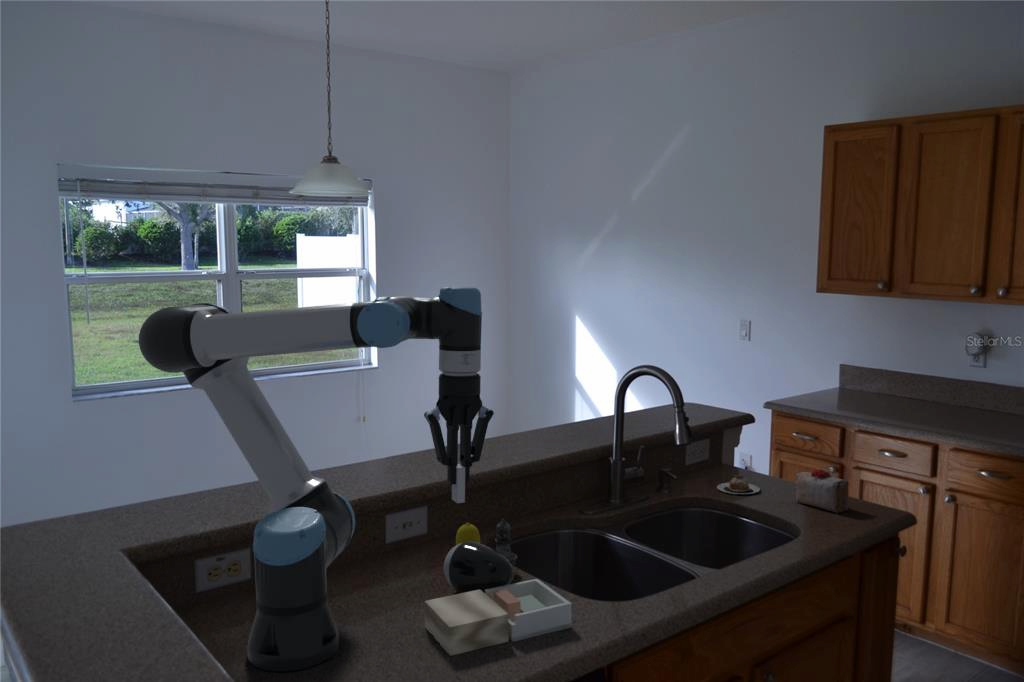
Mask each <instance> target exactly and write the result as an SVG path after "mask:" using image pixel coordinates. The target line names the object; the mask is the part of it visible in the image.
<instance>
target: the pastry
mask: <svg viewBox="0 0 1024 682" xmlns="http://www.w3.org/2000/svg"><path fill="white" fill-rule="evenodd" d="M744 477H745V476H744V475H742V474H741V475H740V474H737V475H736V474H735V475H734V477H733V478H732V479H731V480H730V481H729V482H725V483H720V484H718V485H717V486H716V488H717V490H719V491H721V492H722V493H724V494H727V493H728V495H734V496H737V495H739V494H740V495H741V496H743V495H745V494H746V495H752V494H755V493H759V492H760V490H761V488H760V487H759V486H757V485H754V484H752V483H749V481H748V480H747V479H746V478H744ZM725 487H726V488H728V489H729V490H730V491H727V490H725V489H724V488H725ZM751 489H752V490H753V492H752V491H751ZM731 491H732V492H731ZM746 491H747V492H746ZM750 491H751V492H750ZM740 495H739V496H740ZM746 495H745V496H746Z"/></svg>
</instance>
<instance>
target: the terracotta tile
mask: <svg viewBox="0 0 1024 682" xmlns="http://www.w3.org/2000/svg"><path fill="white" fill-rule="evenodd" d="M494 602H495V603H496V604H497V605H499V606H500V607H501V608H502V609H503V610H504V611H506V612H507V613H508V618H510V619H511V620H512V621H513V622H514V614H518V613H521V603H520V600H518V599H517V598H516V597H515V596H513V595H512V594H511V593H510V592H508V591H507V590H506V589H505V590H500V591H496V592H494Z"/></svg>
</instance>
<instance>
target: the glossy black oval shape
mask: <svg viewBox="0 0 1024 682" xmlns="http://www.w3.org/2000/svg"><path fill="white" fill-rule="evenodd" d="M513 567H514V566H513ZM513 567H512V565H511V563H510V562H509V561H508V560H507V559H506V558H505V557H504V556H503V555H501V554H500V553H498V552H497V551H496V549H493V548H491V547H489V546H487V545H484V544H482V543H481V542H480V543H477V542H473V541H467V542H464V543H461V544H458V545H456V544H455V546H453V547H451V549H450V550H449V551H448V553H447V555H445V560H444V562H443V573H444V577H445V579H446V581H447V583H448V585H450V587H452V588H453V589H454V590H455V591H456V592H458V593H459V594H460V593H465V592H470V591H474V590H479V589H480V590H481V591H482V592H484V593H485V590H486V589H491V588H495V587H500V586H505V585H509V584H512V581H513V579H514V576H515V575H514V570H515V569H514V568H513ZM513 569H514V570H513Z"/></svg>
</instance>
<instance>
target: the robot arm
mask: <svg viewBox="0 0 1024 682" xmlns="http://www.w3.org/2000/svg"><path fill="white" fill-rule="evenodd" d="M482 317H483V312H482V294H481V291H480V289H478V288H476V287H472V286H471V287H470V286H443V287H441V288H440V290H439V294H438V296H437V297H415V296H414V297H413V296H396V295H393V296H392V295H391V296H390V295H389V296H379V297H377V298H375V299H374V300H371V301H361V302H348V303H337V304H336V303H335V304H325V305H324V304H323V305H313V306H303V307H293V308H292V307H291V308H290V307H289V308H280V309H277V308H276V309H268V310H257V311H256V310H255V311H254V310H253V311H244V312H232V311H231V310H230V309H229V308H227V307H225V306H222V305H220V304H213V303H208V302H197V303H192V304H189V305H177V306H175V305H174V306H168V307H167V306H166V307H162V308H161V309H158V310H156V311H155V312H153V313H151V314H150V315H149V316H148V317H147V318H146V319H145V320H144V322H143V323H142V325H141V326H140V329H139V334H138V346H139V350H140V352H141V355H142V356H143V358H144V359H145V360H146V362H148V364H149V365H150V366H152V367H154V368H155V369H156V370H159V371H161V372H165V373H173V374H174V373H176V374H179V373H183V375H184V376H185V378H186V379H187V381H188V383H189V384H190V387H191V388H195V389H199V390H203V391H204V393H205V395H206V396H207V397H208V399H209V401H210V402H211V403H212V405H213V407H214V409H215V410H216V412H217V413H218V416H219V417H220V419H221V421H222V422H223V424H224V425H225V427H226V429H227V430H228V432H229V433H230V434H229V435H231V437H232V439H233V441H234V442H235V443H236V445H237V447H238V448H239V450H240V451H241V453H242V455H243V457H244V458H245V459H246V462H247V463H248V465H249V466H250V468H251V470H252V472H253V473H254V475H255V476H256V478H257V479H258V481H259V483H260V484H261V486H262V487H263V489H264V491H265V493H266V494H267V496H268V497H269V499H270V507H269V510H268V514H266V515H265V516H263V517H262V518H261V519H260V520H259V521H258V522H257V523H256V526H255V528H254V532H253V542H252V550H253V558H254V562H253V563H254V577H255V595H256V596H255V598H256V613H255V617H254V620H253V623H252V626H251V630H250V633H249V636H248V637H249V638H248V642H247V648H246V649H247V658H248V659H247V660H248V661H249V663H250V664H251V665H252V666H254V667H256V668H258V669H259V670H263V671H269V672H270V671H271V672H293V671H299V670H305V669H308V668H311V667H315V666H317V665H319V664H321V663H323V662H325V661H327V660H329V659H330V658H332V657H333V656H334V655H335V654H336V653H337V651H338V650H339V647H340V637H339V636H340V635H339V630H338V626H337V623H336V622H335V619H334V616H333V614H332V611H331V608H330V606H329V604H328V603H329V602H328V591H327V590H328V587H327V585H328V584H327V582H328V581H327V569H328V567H329V566H330V565H331V564H332V563H333V561H334V560H335V559H336V558H337V557H338V556H339V555H340V554H341V553H343V552H344V550H345V549H346V548H347V547H348V545H349V543H350V542H351V539H352V537H353V535H354V532H355V527H356V516H355V512H354V509H353V506H352V504H351V503H350V502H349V500H348V499H346V498H345V496H343V495H341V494H340V493H337V492H334V491H332V489H331V487H330V486H329V485H328V483H327V481H326V480H325V479H324V478H321V477H317V476H314V475H313V474H312V472H311V470H310V469H309V467H308V466H307V463H305V461H304V459H303V458H302V456H301V454H300V453H299V451H298V450H297V447H296V446H295V445H294V443H293V441H292V440H291V438H290V436H289V434H288V432H286V430H285V428H284V426H283V425H282V423H281V422H280V420H279V418H278V416H277V415H276V412H275V411H274V410H273V408H272V406H271V405H270V403H269V401H268V400H267V398H266V396H265V395H264V394H263V392H262V390H261V388H260V386H259V385H258V383H257V382H256V380H255V378H254V377H253V375H252V374H251V372H250V370H249V369H248V363H249V359H250V358H252V357H253V358H254V357H265V356H278V355H279V356H280V355H289V354H301V353H312V352H323V351H337V350H346V349H347V350H348V349H359V348H376V349H387V348H393V347H395V346H398V345H399V344H400V343H402V342H405V341H407V340H438V343H439V345H438V349H439V351H438V352H439V353H438V370H439V371H440V372H441V373H440V374H439V375H438V398H437V401H436V404H435V407H434V408H433V409H431V410H430V411H425V412H424V414H423V417H424V419H425V420H426V422H427V423H428V425H429V429H430V433H431V437H432V443H433V446H434V450H435V454H436V455H435V456H436V459H437V461H438V463H440V464H442V465H443V466H446V467H447V483H448V484H450V485H451V500H452V501H453V502H455V503H456V504H462V503H466V501H465V500H466V484H468V483H470V480H471V478H470V477H471V476H470V473H471V471H470V470H471V468H472V466H473V464H474V463H478V462H479V461H480V460H481V455H482V451H483V447H484V443H485V439H486V435H487V431H488V427H489V422H490V421H491V420H492V418H493V416H494V414H495V413H494V411H493V410H492V409H490V408H487V407H486V406H484V405H483V400H482V398H481V397H480V395H481V380H482V379H481V375H480V374H479V372H480V371H481V369H482V365H481V364H482V363H481V361H482V359H481V357H482V346H481V345H482V321H483V320H482ZM440 415H441V416H440ZM476 416H478V417H477V419H476V420H477V421H476V424H475V429H474V432H473V437H472V430H473V420H474V419H475V418H476ZM440 417H442V418H443V419H444V420H445V428H446V443H445V441H444V435H443V431H442V428H441V424H440V420H441V418H440ZM445 444H446V445H445ZM458 452H459V453H458ZM458 454H459V455H458ZM458 457H459V458H458ZM458 459H459V463H458Z"/></svg>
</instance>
